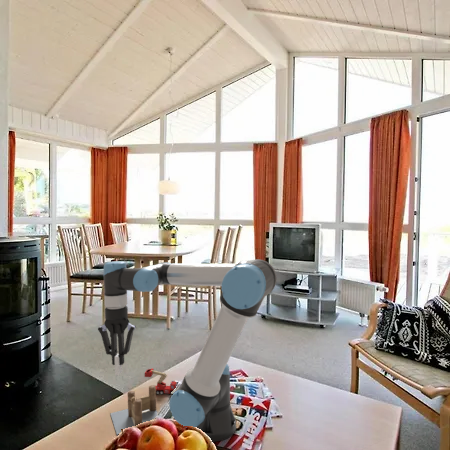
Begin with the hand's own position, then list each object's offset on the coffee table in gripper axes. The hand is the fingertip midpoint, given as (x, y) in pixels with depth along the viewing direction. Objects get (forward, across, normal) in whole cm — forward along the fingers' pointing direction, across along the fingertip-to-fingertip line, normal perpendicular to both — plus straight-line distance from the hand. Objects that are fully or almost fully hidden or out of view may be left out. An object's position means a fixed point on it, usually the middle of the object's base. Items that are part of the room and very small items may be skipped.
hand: (118, 373), depth 122 cm
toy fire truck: (+21, -8, -27) cm, 35 cm away
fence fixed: (+20, -4, -11) cm, 24 cm away
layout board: (+20, -3, -8) cm, 22 cm away
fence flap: (+20, -3, -6) cm, 21 cm away
